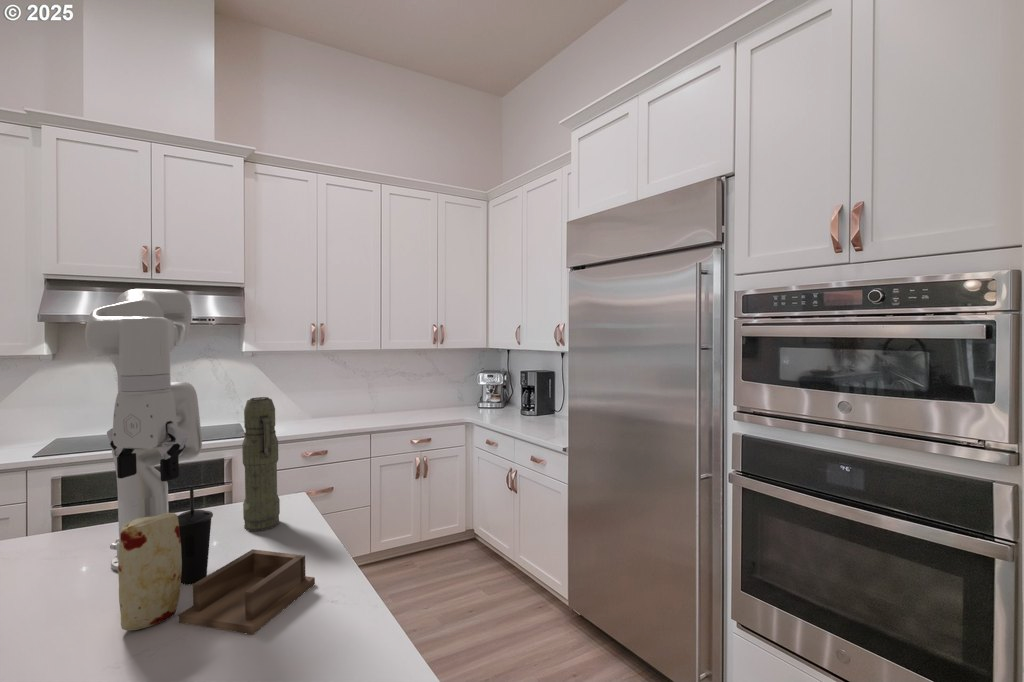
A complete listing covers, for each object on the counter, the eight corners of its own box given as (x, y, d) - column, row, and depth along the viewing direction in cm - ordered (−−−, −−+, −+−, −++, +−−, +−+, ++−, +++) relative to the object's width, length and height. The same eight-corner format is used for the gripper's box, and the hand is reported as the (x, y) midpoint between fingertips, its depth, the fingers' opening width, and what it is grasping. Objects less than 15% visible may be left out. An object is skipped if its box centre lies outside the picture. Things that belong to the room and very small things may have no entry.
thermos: (268, 515, 147) (265, 394, 146) (288, 525, 140) (285, 398, 138) (235, 524, 140) (233, 398, 139) (255, 535, 133) (252, 402, 132)
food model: (126, 642, 88) (122, 528, 88) (114, 628, 92) (110, 519, 92) (188, 616, 96) (186, 511, 95) (175, 604, 100) (172, 504, 99)
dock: (178, 622, 94) (178, 588, 94) (250, 575, 111) (250, 546, 111) (252, 634, 90) (251, 598, 90) (314, 584, 108) (314, 554, 107)
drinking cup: (222, 574, 112) (220, 484, 111) (187, 591, 105) (185, 495, 104) (199, 567, 115) (197, 480, 115) (164, 583, 108) (162, 490, 108)
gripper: (87, 386, 91) (90, 481, 91) (165, 387, 87) (168, 487, 87) (128, 381, 98) (130, 470, 99) (202, 383, 94) (204, 474, 95)
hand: (148, 477), depth 93 cm, fingers open, 9 cm apart
